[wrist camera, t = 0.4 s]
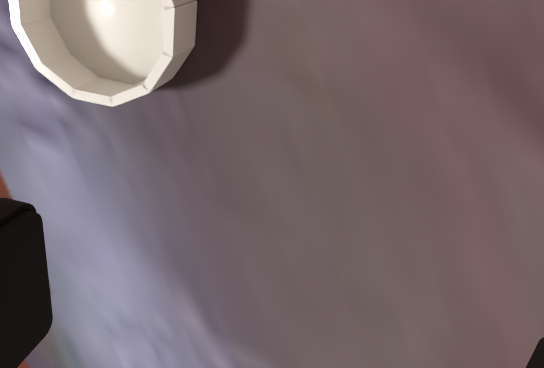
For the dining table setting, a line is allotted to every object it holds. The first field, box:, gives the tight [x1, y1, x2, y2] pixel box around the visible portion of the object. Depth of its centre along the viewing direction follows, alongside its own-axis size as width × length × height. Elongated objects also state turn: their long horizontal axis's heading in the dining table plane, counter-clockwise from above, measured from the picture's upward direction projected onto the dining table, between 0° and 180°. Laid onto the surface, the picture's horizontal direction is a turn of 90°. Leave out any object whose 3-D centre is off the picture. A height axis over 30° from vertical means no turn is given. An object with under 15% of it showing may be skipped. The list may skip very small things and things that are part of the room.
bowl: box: [9, 0, 197, 107], centre depth 35 cm, size 12×12×4 cm
